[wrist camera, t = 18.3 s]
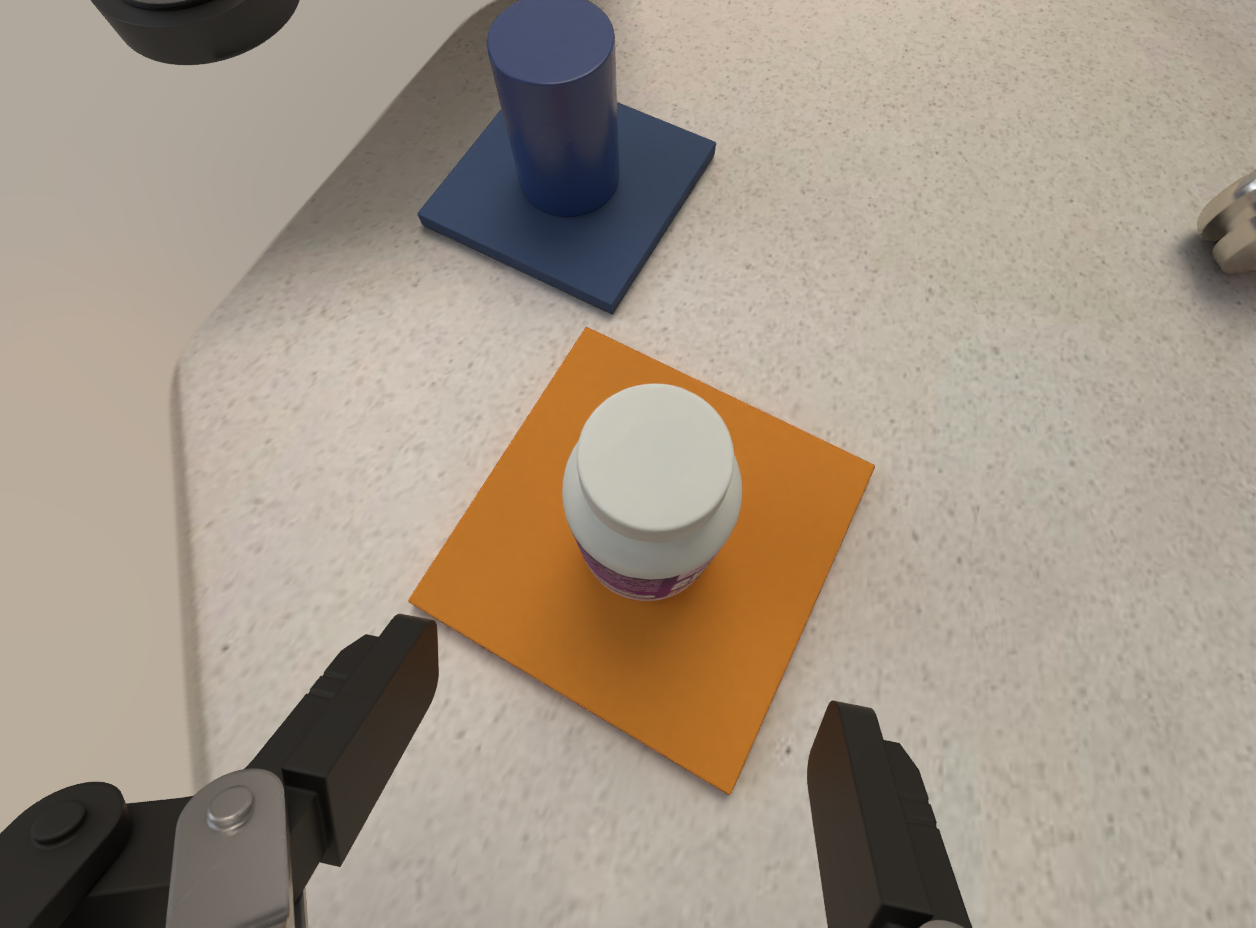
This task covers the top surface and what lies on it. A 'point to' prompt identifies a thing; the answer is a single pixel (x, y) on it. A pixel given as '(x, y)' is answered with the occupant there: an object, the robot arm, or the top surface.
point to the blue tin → (559, 101)
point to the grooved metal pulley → (1232, 225)
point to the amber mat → (662, 629)
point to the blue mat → (580, 245)
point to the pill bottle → (652, 490)
